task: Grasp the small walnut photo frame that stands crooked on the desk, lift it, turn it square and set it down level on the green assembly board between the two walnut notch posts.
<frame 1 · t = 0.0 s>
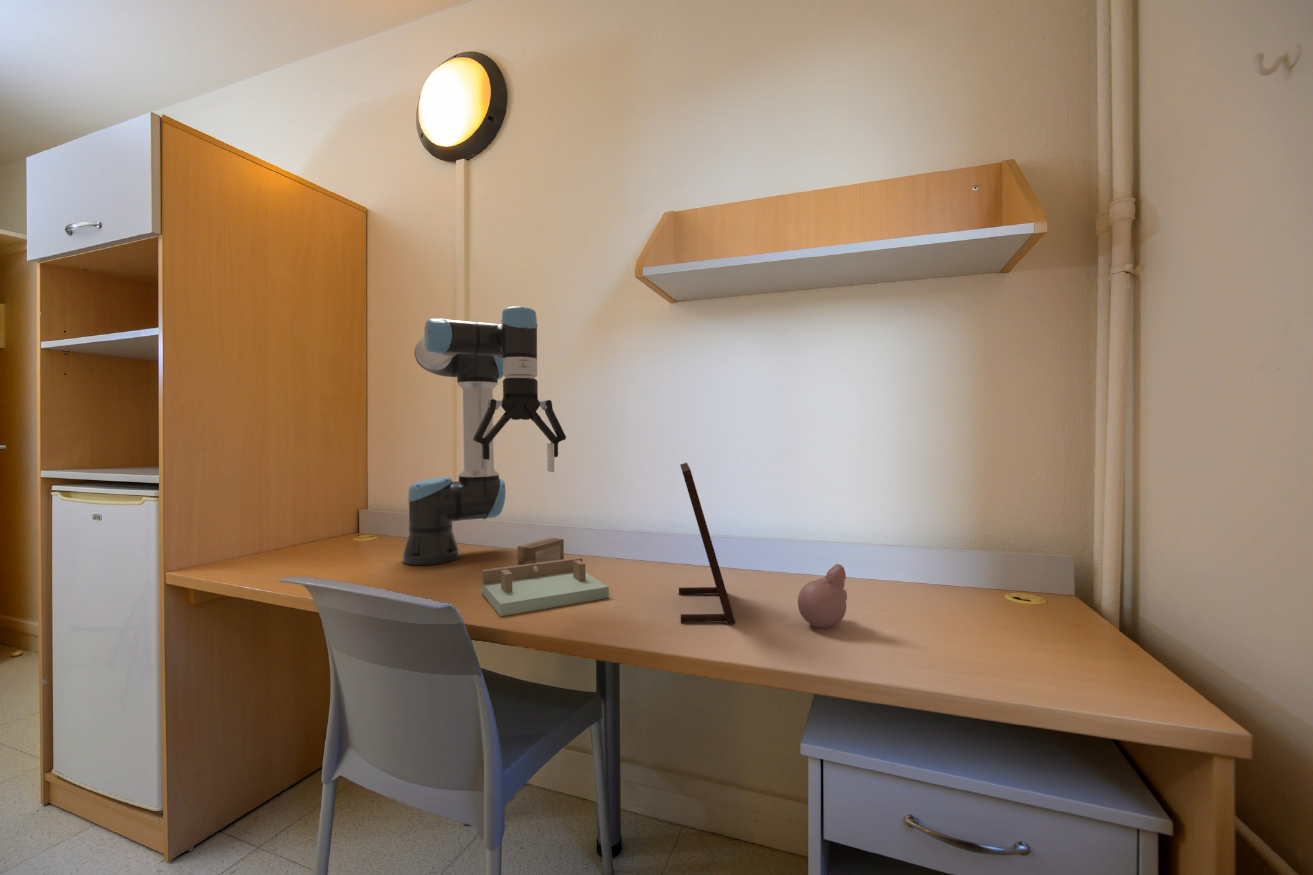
hand: (521, 473, 124), 28 cm above the table, fingers open, 13 cm apart
figurine: (823, 625, 107), on the table
green assembly board: (544, 595, 127), on the table
walnut frame: (541, 577, 142), on the table
picture frame: (704, 608, 118), on the table
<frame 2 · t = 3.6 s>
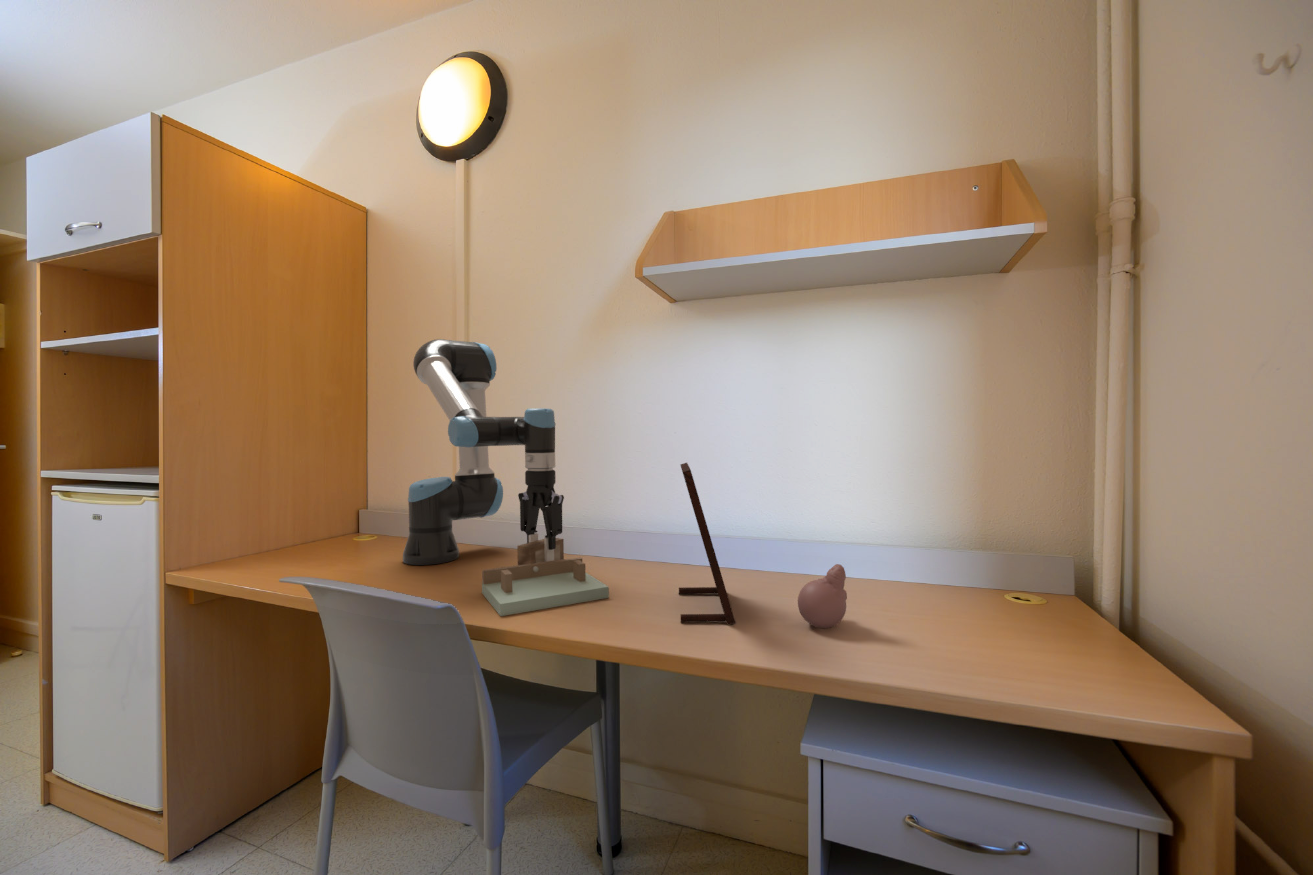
hand: (541, 560, 142), 4 cm above the table, fingers closed on walnut frame, 5 cm apart
walnut frame: (541, 577, 142), on the table, touching gripper
everything else where it was.
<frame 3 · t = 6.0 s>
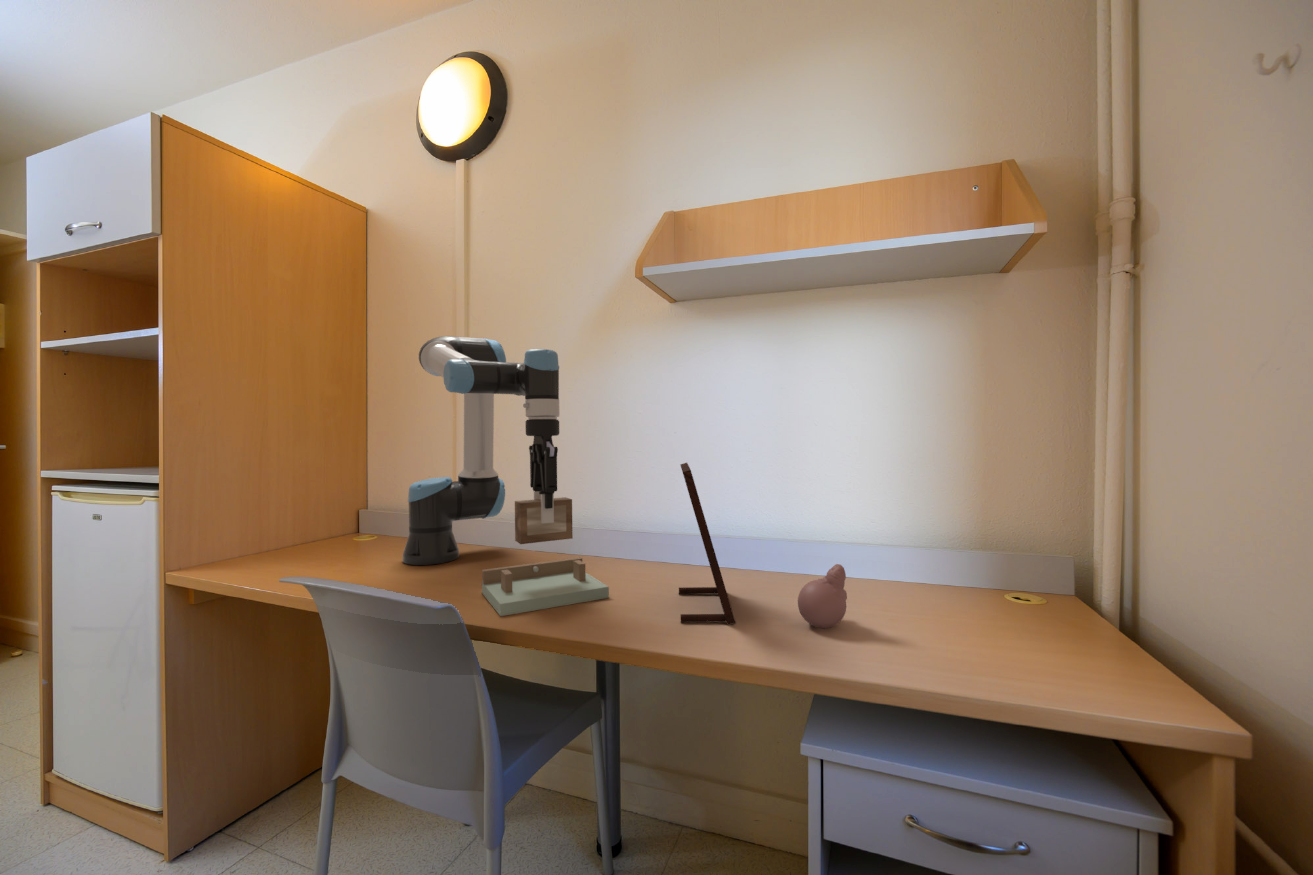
hand: (543, 520, 127), 17 cm above the table, fingers closed on walnut frame, 5 cm apart
walnut frame: (544, 539, 127), point 13 cm above the table, touching gripper
everything else where it was.
when the fingers open (8 cm above the table, at t = 8.2 s): walnut frame drops 1 cm, resting on green assembly board.
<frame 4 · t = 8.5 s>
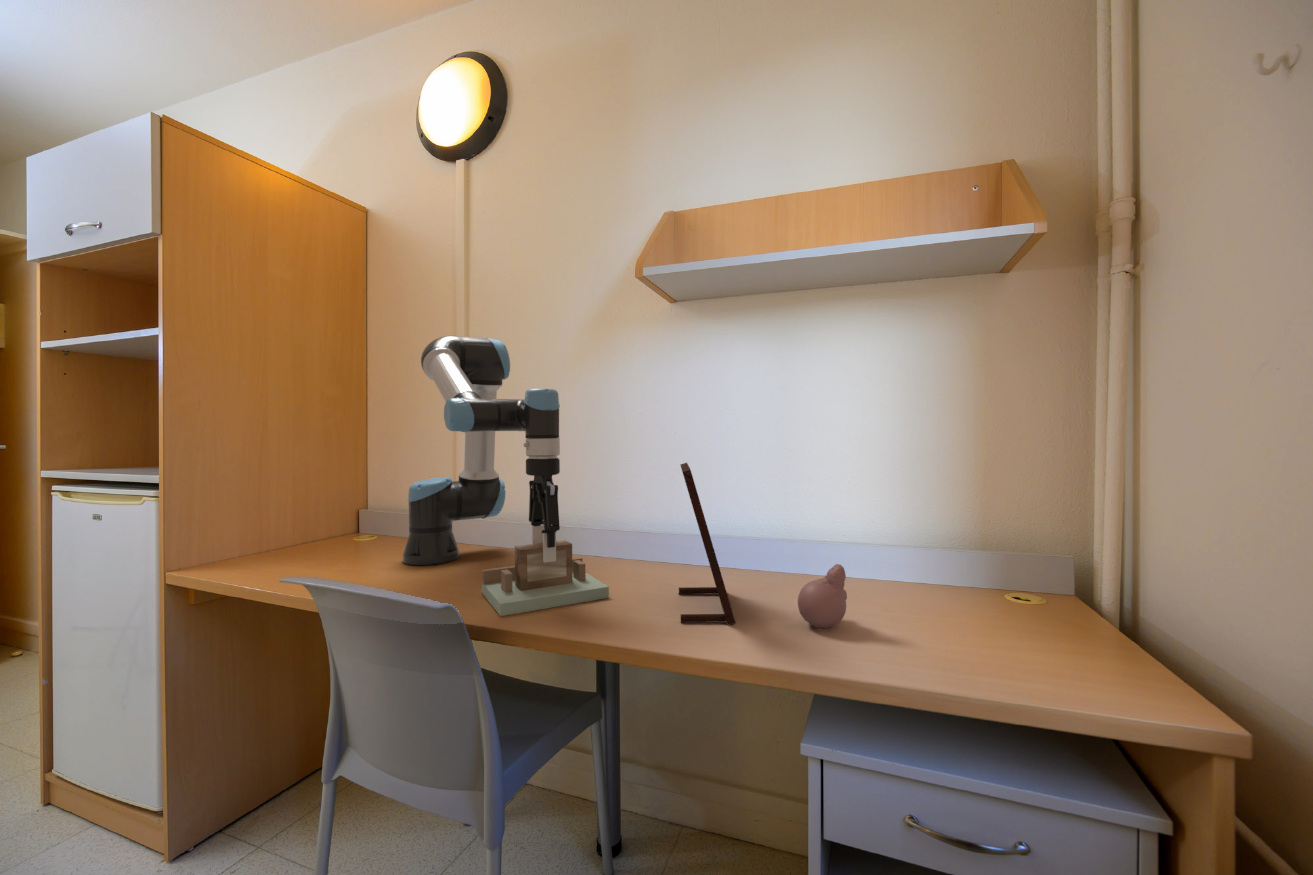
hand: (543, 557, 126), 9 cm above the table, fingers open, 8 cm apart
walnut frame: (544, 584, 127), point 2 cm above the table, touching green assembly board
everything else where it was.
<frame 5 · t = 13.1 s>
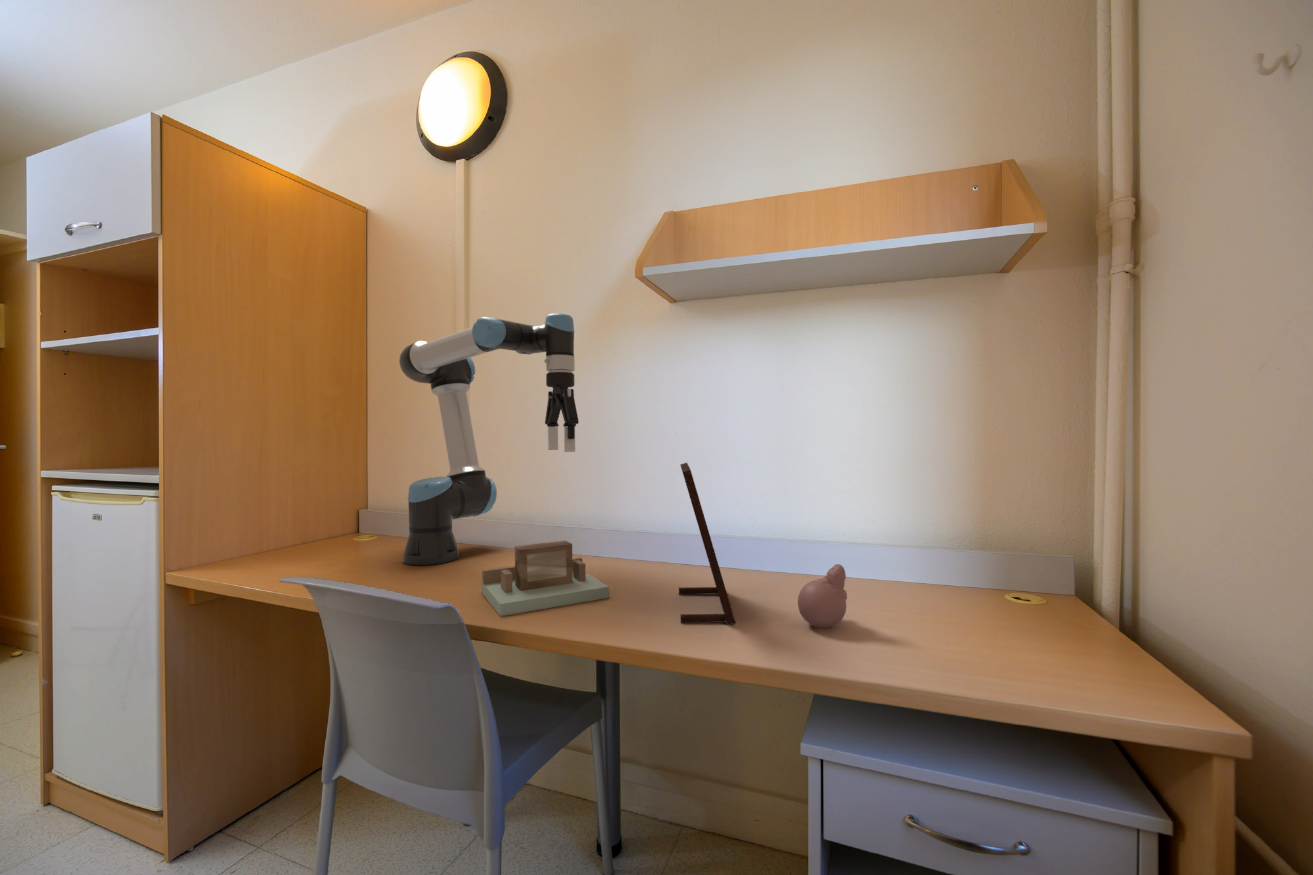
hand: (561, 450, 151), 32 cm above the table, fingers open, 13 cm apart
nothing on the table moved.
at the end: walnut frame inside the target area on the green assembly board (0.1 cm from its centre), point 2.5 cm above the green assembly board's base; walnut frame tilted 0°; the gripper is holding nothing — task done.
